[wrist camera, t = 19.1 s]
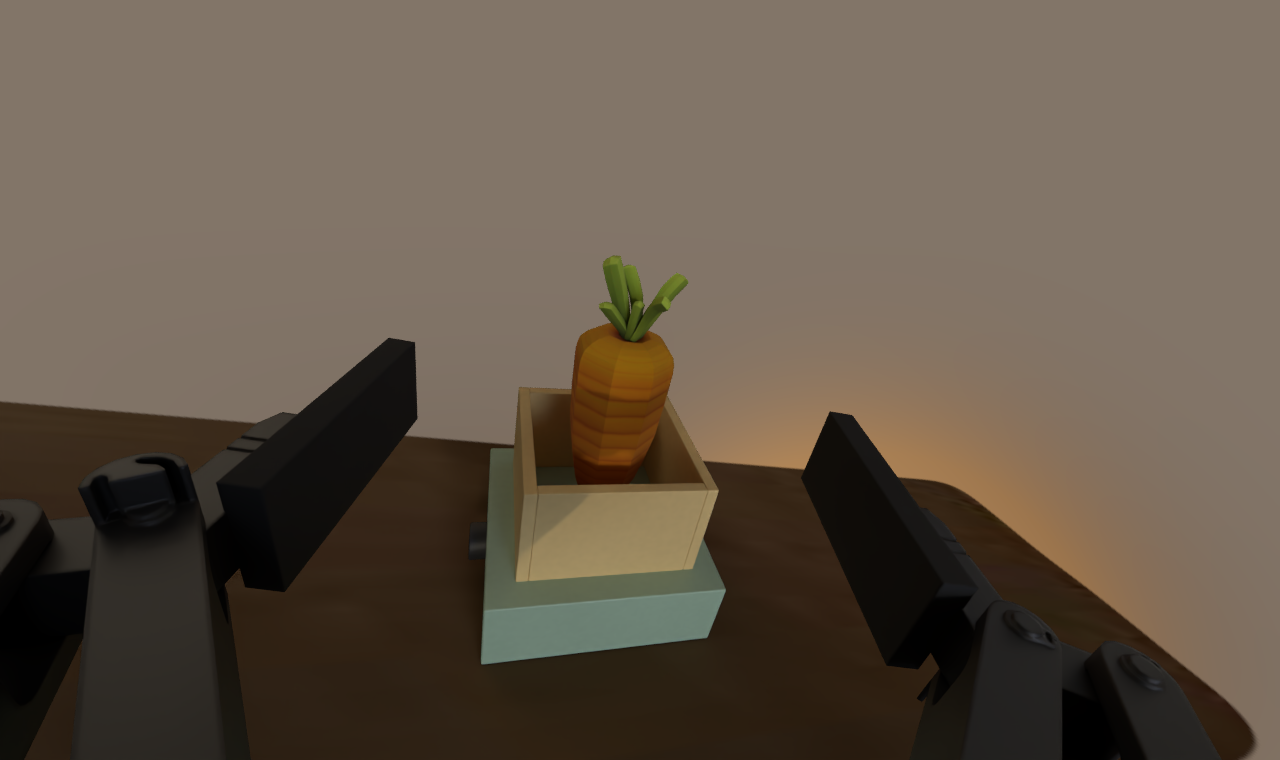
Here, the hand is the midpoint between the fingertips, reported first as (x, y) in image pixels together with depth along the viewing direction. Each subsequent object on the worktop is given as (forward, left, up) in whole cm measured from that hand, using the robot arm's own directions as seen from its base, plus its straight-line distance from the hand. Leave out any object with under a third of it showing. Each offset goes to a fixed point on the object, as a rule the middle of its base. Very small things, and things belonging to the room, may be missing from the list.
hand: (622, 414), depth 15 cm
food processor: (-3, +8, -16) cm, 18 cm away
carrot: (-3, +8, -12) cm, 15 cm away
